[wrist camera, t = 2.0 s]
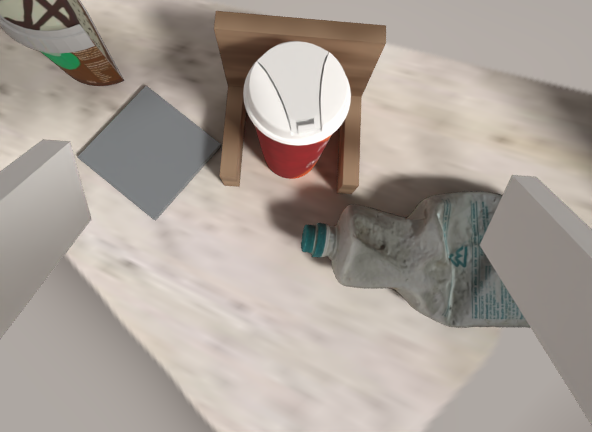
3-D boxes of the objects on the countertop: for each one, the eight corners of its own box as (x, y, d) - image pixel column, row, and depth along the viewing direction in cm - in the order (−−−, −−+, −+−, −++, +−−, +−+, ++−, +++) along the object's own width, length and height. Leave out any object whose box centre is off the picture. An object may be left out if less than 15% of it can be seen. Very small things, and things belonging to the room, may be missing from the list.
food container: (26, 22, 41) (-54, -61, 31) (80, -1, 42) (19, -89, 32) (75, 118, 39) (7, 63, 29) (130, 92, 40) (82, 30, 30)
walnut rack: (351, 194, 39) (383, 156, 28) (224, 185, 39) (201, 143, 27) (354, 99, 41) (385, 25, 29) (233, 89, 41) (215, 11, 29)
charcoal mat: (221, 145, 40) (220, 143, 39) (155, 220, 38) (153, 219, 37) (147, 88, 40) (146, 85, 40) (80, 159, 39) (77, 157, 38)
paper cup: (333, 182, 39) (364, 129, 26) (259, 194, 39) (250, 146, 25) (320, 112, 41) (342, 25, 27) (248, 122, 40) (233, 39, 26)
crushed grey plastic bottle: (544, 207, 40) (309, 170, 39) (602, 199, 33) (318, 152, 32) (532, 334, 39) (290, 299, 38) (590, 353, 32) (294, 311, 31)
